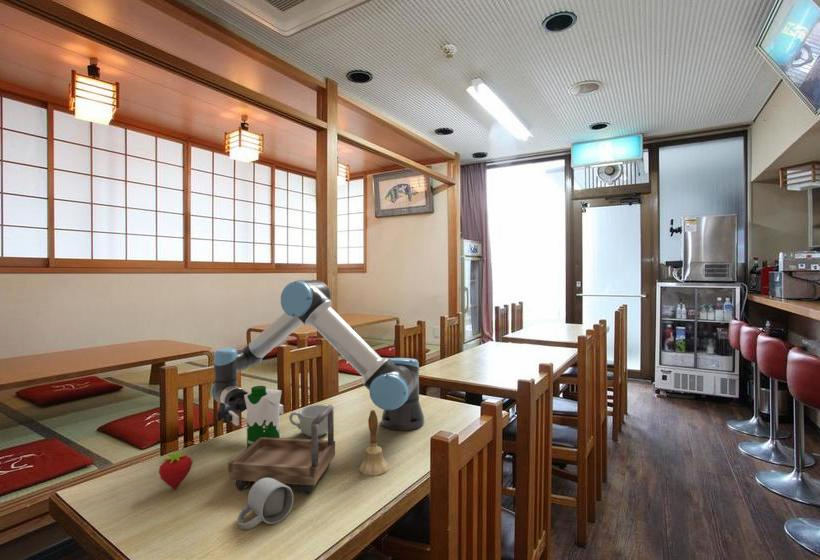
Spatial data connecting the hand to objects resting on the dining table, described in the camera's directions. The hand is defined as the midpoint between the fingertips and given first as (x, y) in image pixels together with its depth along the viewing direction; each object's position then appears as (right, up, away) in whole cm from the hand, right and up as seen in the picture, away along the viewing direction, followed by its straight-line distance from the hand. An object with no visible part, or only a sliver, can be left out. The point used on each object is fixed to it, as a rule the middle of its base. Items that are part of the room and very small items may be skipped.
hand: (260, 415), depth 122 cm
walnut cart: (+12, -11, -16) cm, 23 cm away
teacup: (+12, -11, +13) cm, 21 cm away
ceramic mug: (+13, -12, -33) cm, 37 cm away
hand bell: (+35, -11, -11) cm, 38 cm away
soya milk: (+1, -11, 0) cm, 11 cm away
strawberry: (-14, -11, -21) cm, 27 cm away
